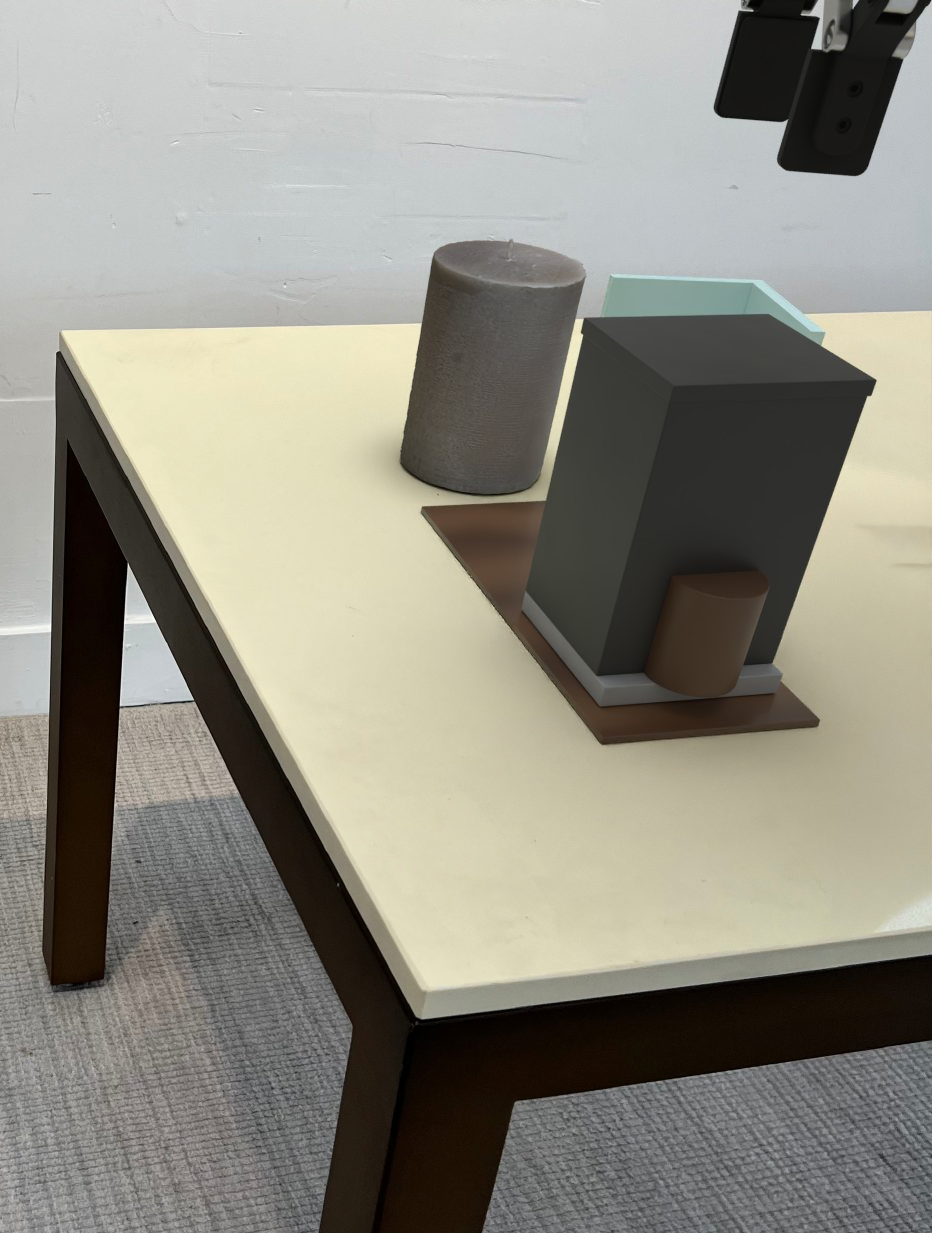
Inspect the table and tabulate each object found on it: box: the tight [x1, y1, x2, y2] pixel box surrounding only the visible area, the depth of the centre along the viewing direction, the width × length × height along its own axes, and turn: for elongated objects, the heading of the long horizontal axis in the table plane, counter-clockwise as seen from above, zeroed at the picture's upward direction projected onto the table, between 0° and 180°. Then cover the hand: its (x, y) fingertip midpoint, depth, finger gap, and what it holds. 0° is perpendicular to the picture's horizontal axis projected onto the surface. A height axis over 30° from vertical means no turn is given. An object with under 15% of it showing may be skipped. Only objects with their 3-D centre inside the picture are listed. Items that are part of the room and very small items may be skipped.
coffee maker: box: [521, 314, 878, 707], centre depth 70 cm, size 12×10×16 cm
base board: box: [420, 500, 821, 745], centre depth 80 cm, size 26×12×1 cm, turn 11°
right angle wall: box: [599, 273, 826, 346], centre depth 106 cm, size 12×12×8 cm
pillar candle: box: [399, 238, 587, 495], centre depth 91 cm, size 10×10×15 cm
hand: (782, 143), depth 56 cm, fingers open, 9 cm apart
